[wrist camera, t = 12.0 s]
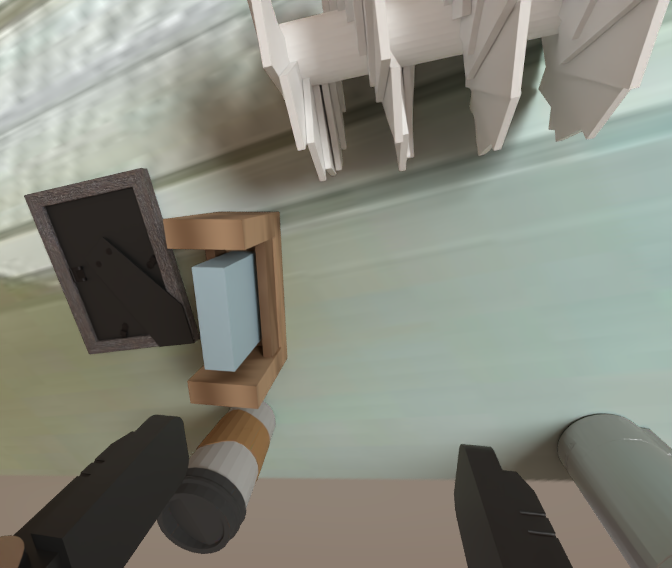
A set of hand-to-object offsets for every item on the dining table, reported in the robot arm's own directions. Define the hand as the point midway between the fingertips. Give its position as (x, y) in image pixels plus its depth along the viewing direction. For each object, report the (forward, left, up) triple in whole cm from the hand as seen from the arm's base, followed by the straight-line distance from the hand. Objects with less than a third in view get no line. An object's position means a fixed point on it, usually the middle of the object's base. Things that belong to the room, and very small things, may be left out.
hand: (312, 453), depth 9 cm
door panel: (+13, +4, -26) cm, 29 cm away
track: (+13, +4, -28) cm, 31 cm away
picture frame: (+31, +2, -29) cm, 42 cm away
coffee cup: (+15, +22, -28) cm, 39 cm away
